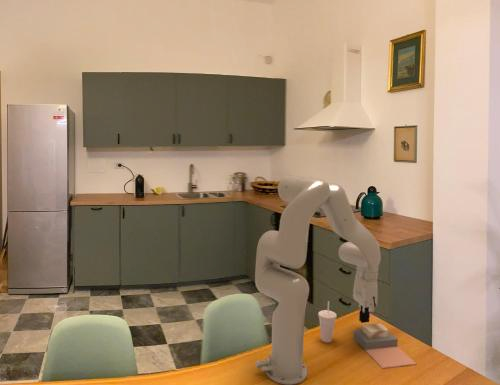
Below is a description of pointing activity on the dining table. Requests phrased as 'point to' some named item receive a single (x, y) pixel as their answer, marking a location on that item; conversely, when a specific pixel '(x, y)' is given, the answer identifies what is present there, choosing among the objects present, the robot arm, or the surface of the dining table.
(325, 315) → the smoothie
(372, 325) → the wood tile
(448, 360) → the dining table surface
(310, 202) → the robot arm
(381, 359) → the mat
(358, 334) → the plate
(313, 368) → the dining table surface
